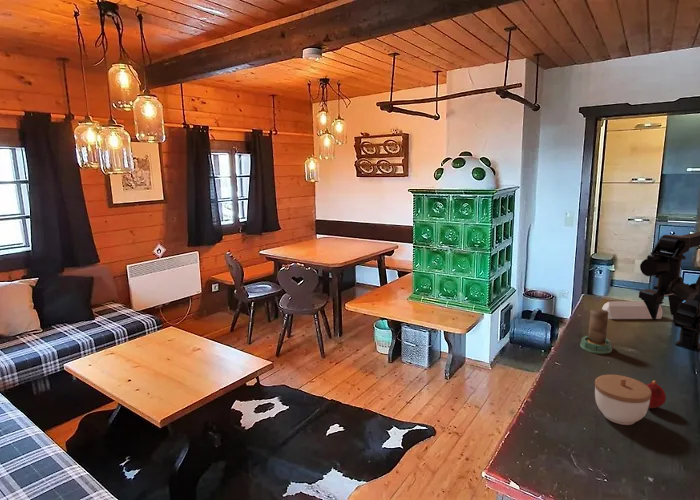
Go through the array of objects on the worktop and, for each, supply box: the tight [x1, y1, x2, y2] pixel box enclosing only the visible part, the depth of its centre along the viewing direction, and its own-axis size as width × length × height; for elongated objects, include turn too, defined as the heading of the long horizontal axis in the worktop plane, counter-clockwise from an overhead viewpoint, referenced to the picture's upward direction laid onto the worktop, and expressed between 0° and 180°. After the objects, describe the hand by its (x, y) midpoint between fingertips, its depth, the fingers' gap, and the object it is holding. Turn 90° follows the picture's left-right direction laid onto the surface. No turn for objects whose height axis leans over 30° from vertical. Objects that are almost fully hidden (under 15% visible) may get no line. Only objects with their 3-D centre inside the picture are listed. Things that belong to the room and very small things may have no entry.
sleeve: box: [587, 308, 609, 345], centre depth 157 cm, size 6×6×13 cm
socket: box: [579, 335, 613, 355], centre depth 158 cm, size 10×10×3 cm
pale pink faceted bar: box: [601, 300, 663, 320], centre depth 187 cm, size 7×7×24 cm
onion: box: [646, 379, 667, 409], centre depth 120 cm, size 6×6×8 cm
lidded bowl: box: [594, 374, 652, 426], centre depth 116 cm, size 13×13×11 cm
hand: (663, 316), depth 151 cm, fingers open, 9 cm apart
